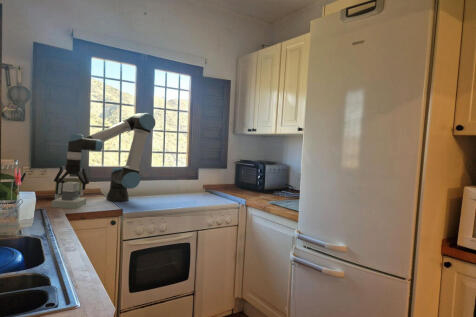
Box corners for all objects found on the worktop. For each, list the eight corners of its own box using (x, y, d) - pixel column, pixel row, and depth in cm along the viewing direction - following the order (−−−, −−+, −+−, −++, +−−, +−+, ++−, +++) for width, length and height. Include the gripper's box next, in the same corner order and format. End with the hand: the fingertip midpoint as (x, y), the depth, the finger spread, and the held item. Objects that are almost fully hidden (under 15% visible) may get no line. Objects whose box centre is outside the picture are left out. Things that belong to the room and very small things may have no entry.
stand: (86, 204, 192) (86, 197, 192) (77, 208, 177) (77, 202, 177) (62, 202, 190) (63, 196, 190) (51, 207, 174) (51, 200, 174)
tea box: (78, 197, 214) (80, 176, 214) (80, 199, 205) (82, 178, 205) (54, 197, 205) (56, 175, 205) (54, 199, 197) (56, 177, 197)
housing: (72, 200, 179) (73, 184, 179) (61, 200, 178) (63, 183, 178) (79, 197, 191) (81, 182, 191) (69, 197, 190) (70, 181, 190)
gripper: (96, 160, 189) (93, 195, 189) (55, 157, 185) (51, 192, 185) (92, 161, 182) (89, 196, 182) (49, 157, 178) (46, 193, 178)
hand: (70, 194), depth 183 cm, fingers open, 12 cm apart
